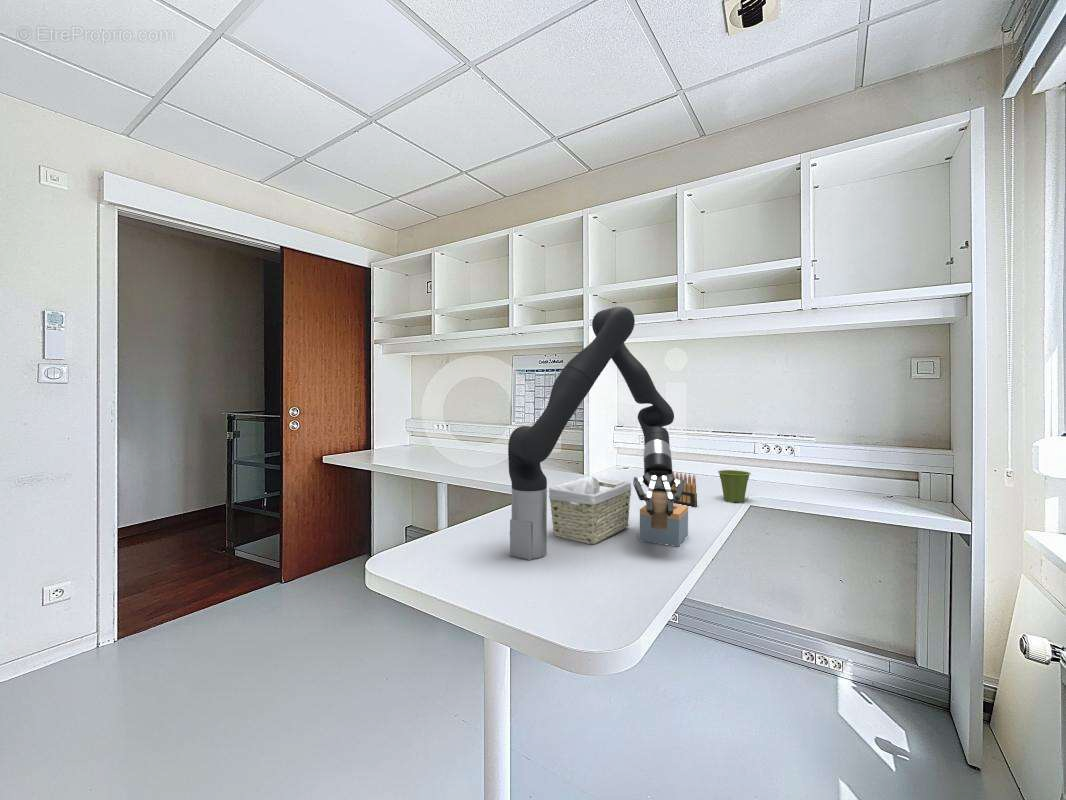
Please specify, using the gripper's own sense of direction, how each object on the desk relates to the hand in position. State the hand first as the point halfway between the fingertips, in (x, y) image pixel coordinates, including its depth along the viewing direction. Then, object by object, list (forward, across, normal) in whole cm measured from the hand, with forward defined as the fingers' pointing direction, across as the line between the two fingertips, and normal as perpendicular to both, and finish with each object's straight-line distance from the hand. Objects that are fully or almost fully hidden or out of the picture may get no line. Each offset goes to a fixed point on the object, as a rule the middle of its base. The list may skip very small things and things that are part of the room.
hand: (660, 513), depth 120 cm
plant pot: (-43, +34, +58) cm, 80 cm away
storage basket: (-5, -18, +22) cm, 29 cm away
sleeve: (-4, +3, +20) cm, 21 cm away
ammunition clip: (-35, +14, +51) cm, 64 cm away
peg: (+2, 0, +4) cm, 5 cm away
